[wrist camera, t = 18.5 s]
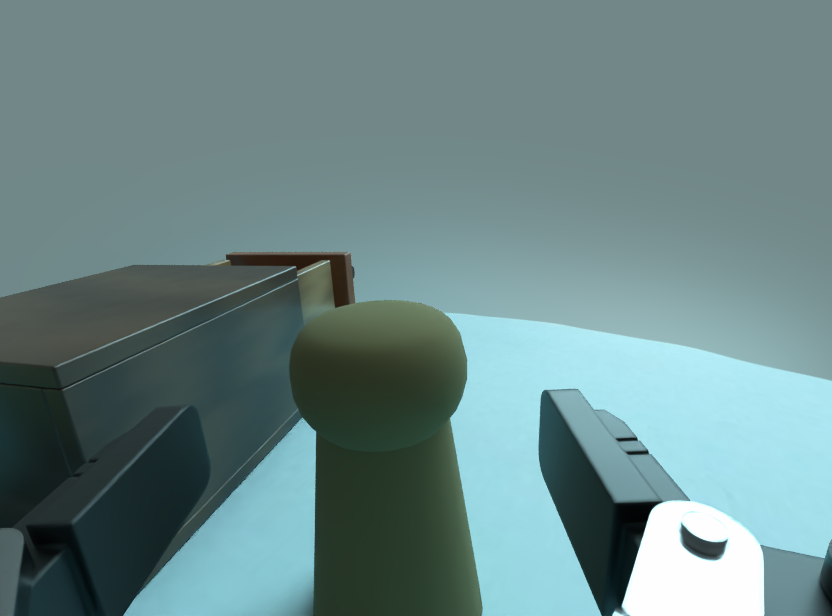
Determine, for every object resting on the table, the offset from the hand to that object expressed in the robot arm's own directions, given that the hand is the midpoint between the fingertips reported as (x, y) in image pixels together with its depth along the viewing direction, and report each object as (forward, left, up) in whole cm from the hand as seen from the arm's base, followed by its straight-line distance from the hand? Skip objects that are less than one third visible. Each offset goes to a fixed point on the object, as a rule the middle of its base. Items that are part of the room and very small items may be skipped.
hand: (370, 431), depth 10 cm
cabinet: (-17, +8, -9) cm, 21 cm away
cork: (-1, +3, -9) cm, 10 cm away
